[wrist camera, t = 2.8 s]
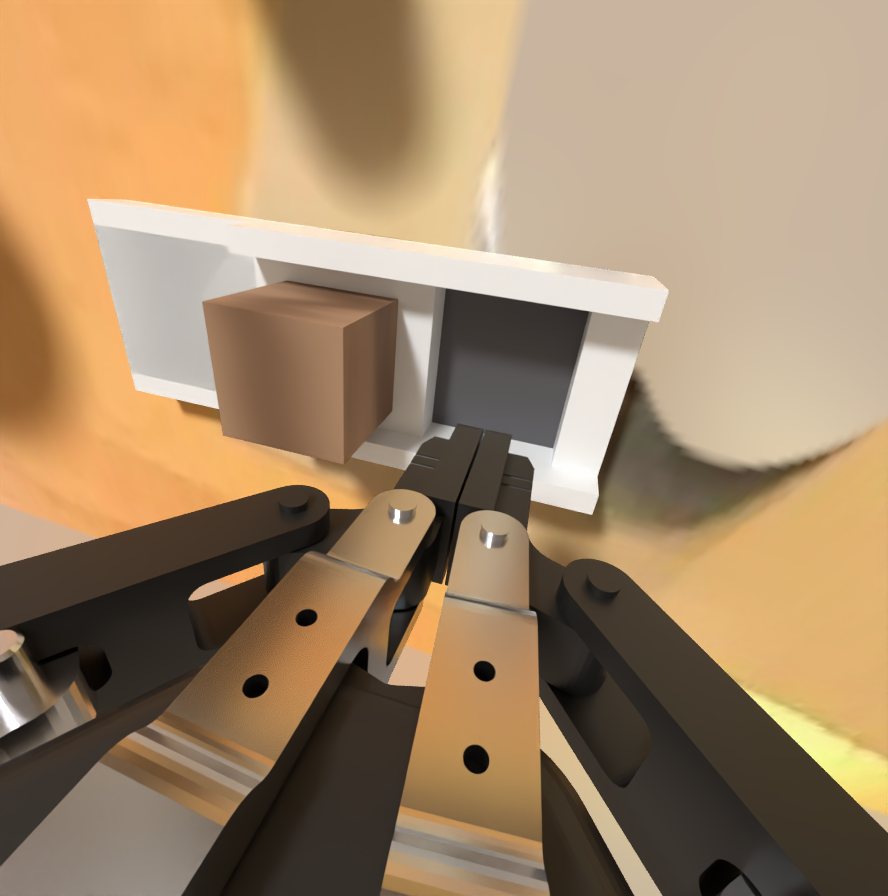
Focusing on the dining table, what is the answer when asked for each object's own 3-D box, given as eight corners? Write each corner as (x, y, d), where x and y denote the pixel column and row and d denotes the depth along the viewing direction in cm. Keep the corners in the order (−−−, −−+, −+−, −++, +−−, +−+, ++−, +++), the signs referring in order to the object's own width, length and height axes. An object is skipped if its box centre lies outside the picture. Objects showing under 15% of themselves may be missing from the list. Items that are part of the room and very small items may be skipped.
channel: (653, 276, 17) (669, 290, 14) (590, 472, 22) (592, 515, 19) (126, 199, 21) (52, 198, 18) (165, 378, 26) (111, 400, 23)
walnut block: (398, 299, 18) (343, 327, 14) (392, 411, 21) (343, 464, 16) (286, 280, 19) (201, 301, 15) (293, 390, 21) (223, 435, 17)
